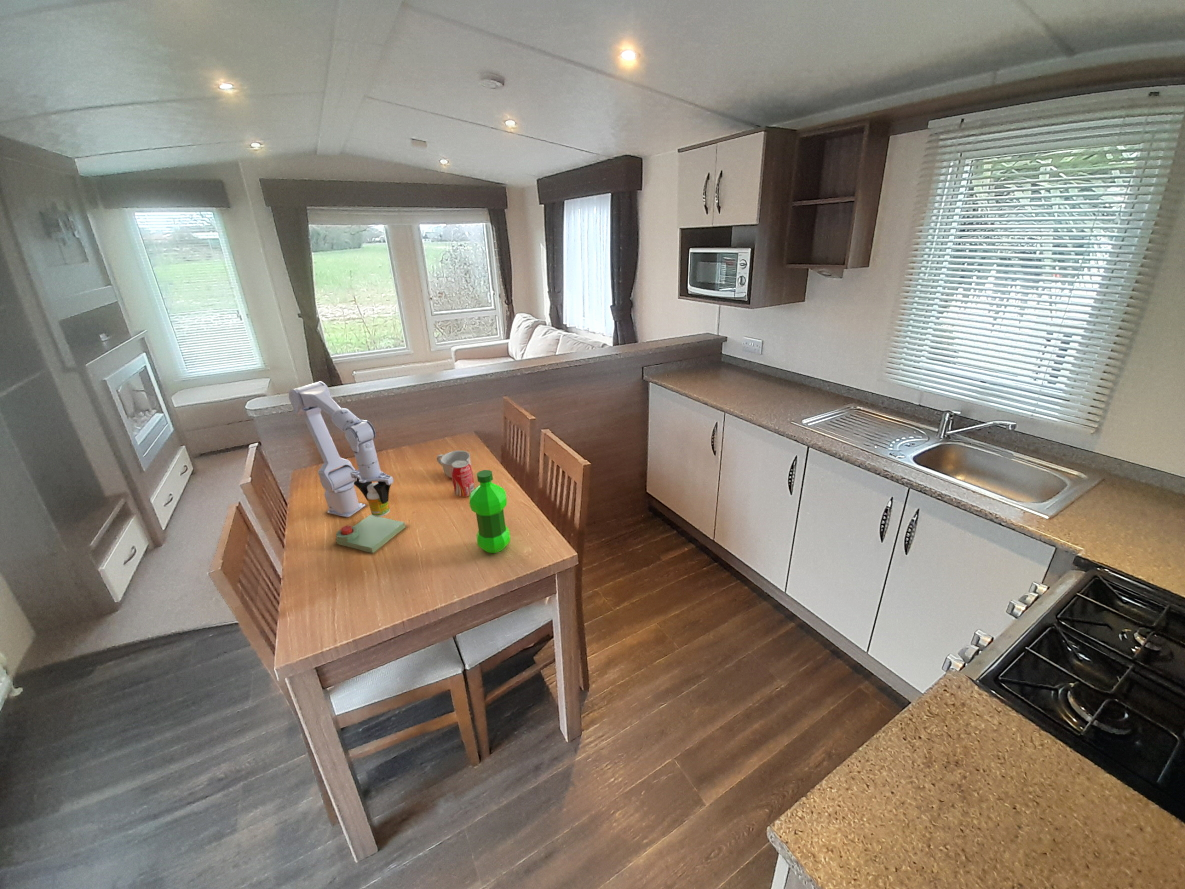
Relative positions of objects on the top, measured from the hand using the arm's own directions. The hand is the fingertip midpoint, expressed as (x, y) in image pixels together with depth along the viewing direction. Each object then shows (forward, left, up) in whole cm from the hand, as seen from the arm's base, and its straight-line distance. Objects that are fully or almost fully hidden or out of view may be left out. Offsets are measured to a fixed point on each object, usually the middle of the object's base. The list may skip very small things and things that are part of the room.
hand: (377, 500), depth 147 cm
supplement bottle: (0, 0, -5) cm, 5 cm away
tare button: (-6, -9, -7) cm, 13 cm away
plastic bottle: (+39, +3, -11) cm, 40 cm away
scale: (-1, -4, -10) cm, 11 cm away
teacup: (0, +38, -11) cm, 39 cm away
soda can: (+12, +27, -11) cm, 31 cm away
